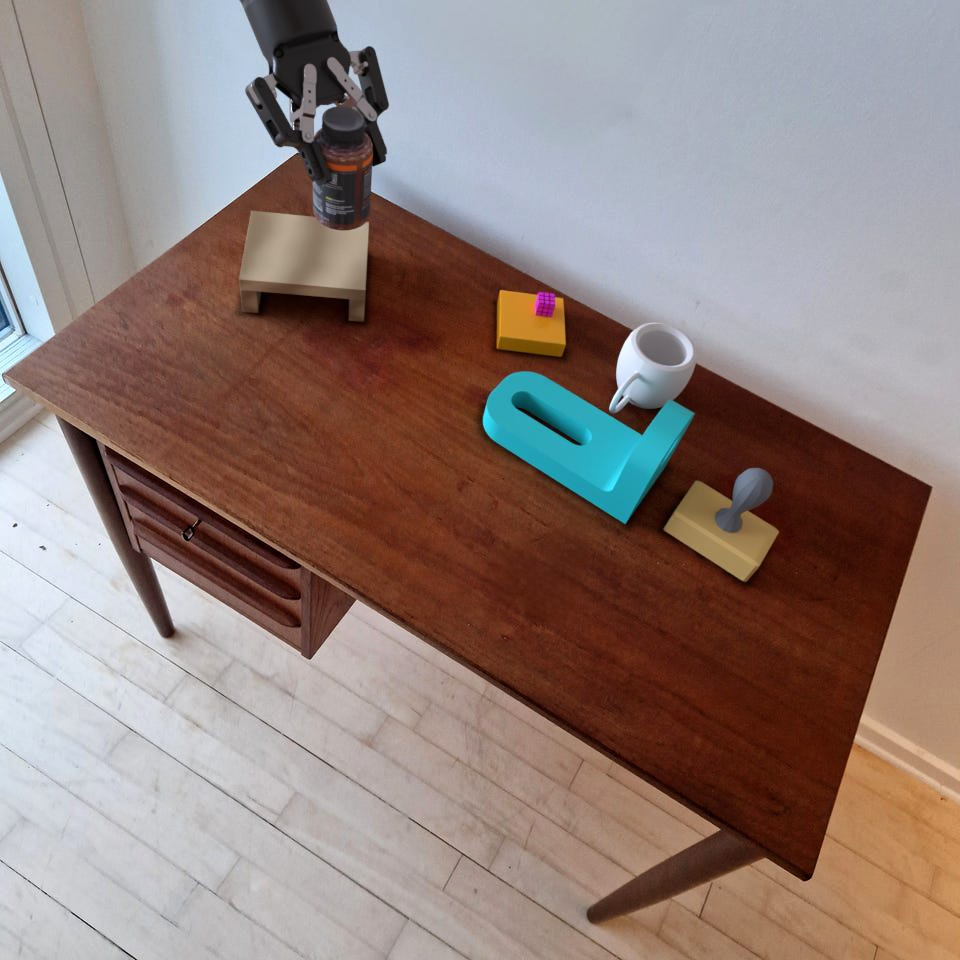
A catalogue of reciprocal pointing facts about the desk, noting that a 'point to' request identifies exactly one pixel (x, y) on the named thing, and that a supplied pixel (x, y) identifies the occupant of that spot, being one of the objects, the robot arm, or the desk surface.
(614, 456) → the bracket
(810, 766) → the desk surface
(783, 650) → the desk surface
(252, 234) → the stand
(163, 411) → the desk surface
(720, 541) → the rubber stamp
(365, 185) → the supplement bottle
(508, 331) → the orange block
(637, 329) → the mug
